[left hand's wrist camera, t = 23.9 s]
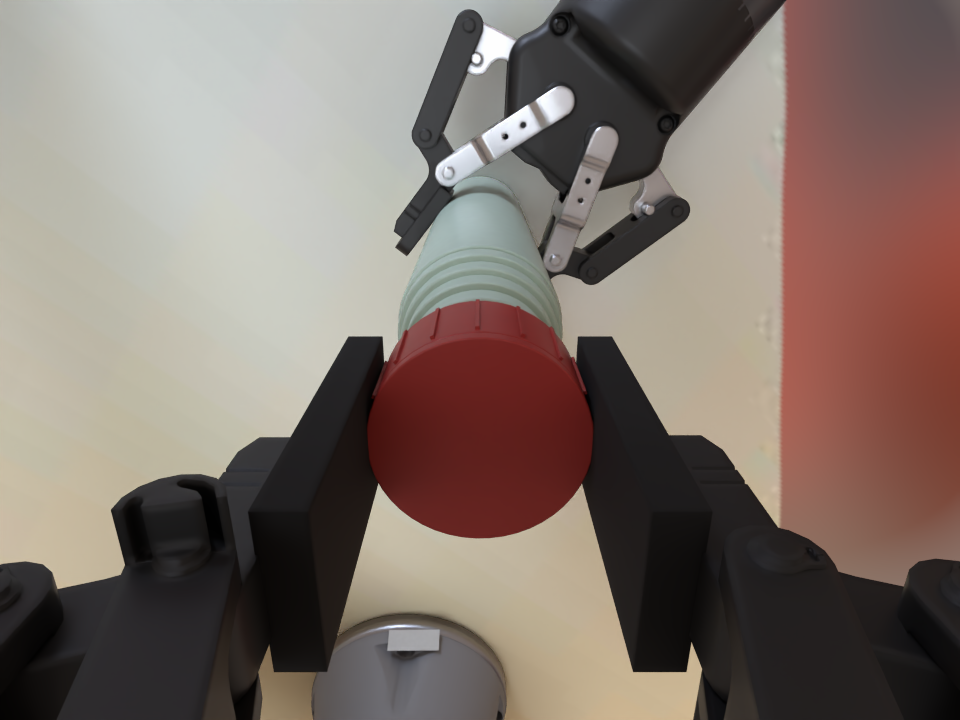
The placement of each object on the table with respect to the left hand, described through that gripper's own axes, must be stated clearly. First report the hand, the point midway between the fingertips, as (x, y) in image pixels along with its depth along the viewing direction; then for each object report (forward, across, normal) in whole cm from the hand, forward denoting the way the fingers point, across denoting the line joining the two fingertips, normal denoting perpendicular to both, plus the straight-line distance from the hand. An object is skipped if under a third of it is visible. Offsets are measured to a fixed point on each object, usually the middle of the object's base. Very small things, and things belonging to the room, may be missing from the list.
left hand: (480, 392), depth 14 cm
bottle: (+24, 0, 0) cm, 24 cm away
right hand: (+18, -2, -2) cm, 18 cm away
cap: (-2, 0, 0) cm, 2 cm away
